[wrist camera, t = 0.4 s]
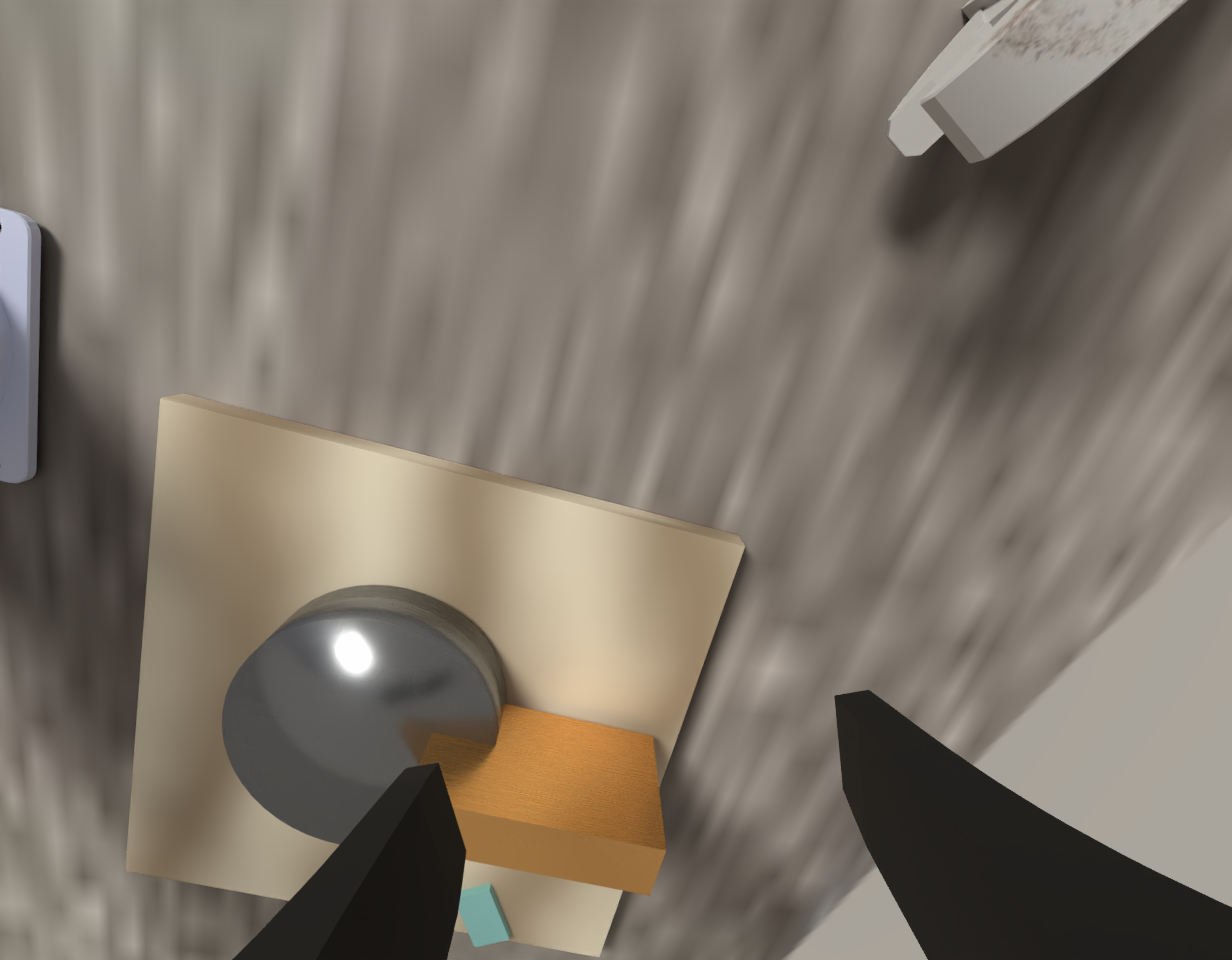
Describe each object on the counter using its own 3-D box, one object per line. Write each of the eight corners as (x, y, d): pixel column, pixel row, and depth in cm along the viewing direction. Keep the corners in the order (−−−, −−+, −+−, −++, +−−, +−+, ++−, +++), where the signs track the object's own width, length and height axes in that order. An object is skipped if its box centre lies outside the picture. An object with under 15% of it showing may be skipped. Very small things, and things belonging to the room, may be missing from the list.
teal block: (455, 891, 23) (453, 899, 22) (490, 883, 23) (489, 890, 22) (476, 939, 23) (474, 947, 23) (510, 931, 23) (509, 939, 23)
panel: (145, 847, 23) (125, 871, 22) (183, 393, 18) (160, 398, 17) (599, 931, 25) (599, 957, 24) (738, 535, 20) (745, 546, 19)
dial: (249, 767, 21) (150, 895, 16) (278, 557, 19) (174, 638, 14) (615, 840, 22) (618, 979, 17) (679, 652, 20) (702, 752, 15)
